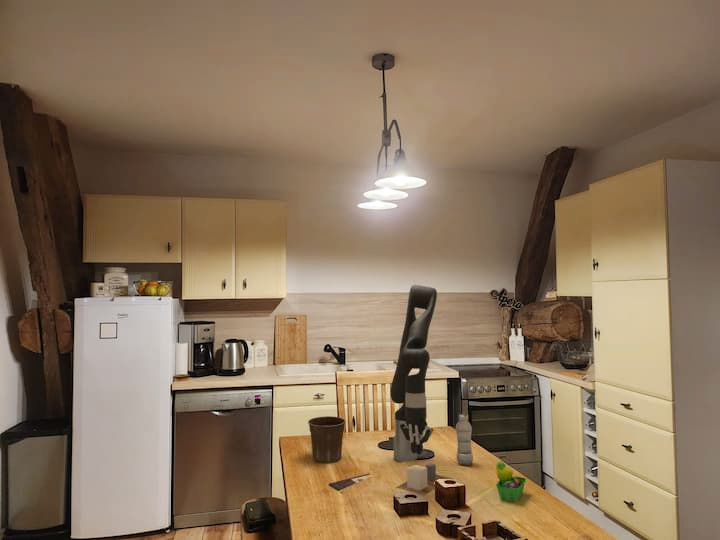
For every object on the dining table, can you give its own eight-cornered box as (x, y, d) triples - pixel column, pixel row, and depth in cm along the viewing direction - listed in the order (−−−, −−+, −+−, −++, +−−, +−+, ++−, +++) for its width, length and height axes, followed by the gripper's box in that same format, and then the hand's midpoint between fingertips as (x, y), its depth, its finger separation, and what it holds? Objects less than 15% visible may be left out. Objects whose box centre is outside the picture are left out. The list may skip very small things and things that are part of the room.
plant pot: (351, 461, 214) (351, 423, 215) (314, 467, 208) (314, 427, 209) (338, 451, 230) (338, 414, 230) (304, 455, 224) (303, 418, 224)
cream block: (407, 487, 182) (406, 468, 182) (415, 483, 186) (414, 464, 186) (419, 490, 179) (419, 471, 179) (427, 486, 183) (427, 467, 183)
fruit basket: (518, 504, 169) (517, 470, 169) (492, 499, 174) (491, 465, 174) (527, 493, 179) (526, 460, 179) (501, 488, 183) (501, 456, 184)
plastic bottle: (473, 467, 206) (472, 416, 206) (456, 466, 207) (455, 416, 208) (473, 462, 212) (471, 413, 213) (456, 461, 213) (455, 412, 214)
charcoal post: (426, 479, 189) (425, 465, 190) (429, 477, 191) (429, 463, 192) (432, 481, 188) (431, 466, 188) (435, 479, 190) (435, 464, 190)
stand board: (424, 498, 175) (424, 495, 175) (395, 490, 182) (395, 487, 183) (453, 481, 190) (453, 478, 190) (426, 474, 198) (425, 471, 198)
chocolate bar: (328, 483, 189) (368, 473, 199) (328, 486, 189) (368, 476, 199) (341, 491, 182) (382, 480, 191) (341, 494, 181) (382, 482, 191)
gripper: (394, 404, 185) (395, 452, 185) (426, 409, 177) (427, 460, 176) (406, 400, 191) (407, 447, 190) (437, 405, 182) (438, 454, 182)
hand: (416, 453), depth 183 cm, fingers closed
